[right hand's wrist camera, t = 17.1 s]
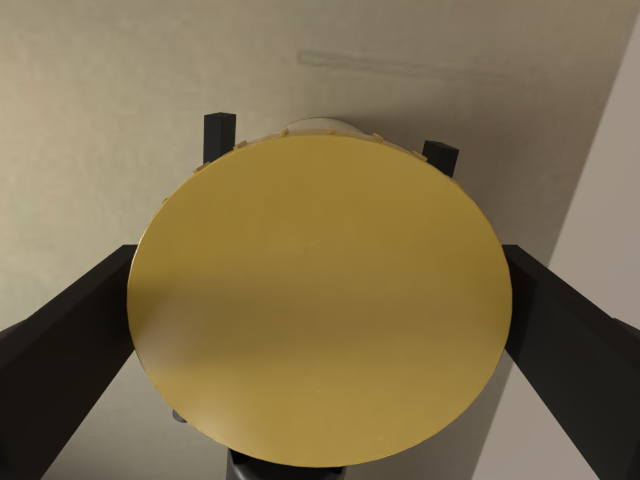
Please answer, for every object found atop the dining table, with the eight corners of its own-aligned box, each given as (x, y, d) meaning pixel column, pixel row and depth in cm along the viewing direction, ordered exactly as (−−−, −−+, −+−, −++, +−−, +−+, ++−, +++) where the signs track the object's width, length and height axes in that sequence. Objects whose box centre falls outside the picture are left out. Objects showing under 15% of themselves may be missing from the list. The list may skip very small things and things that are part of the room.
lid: (532, 353, 13) (563, 390, 11) (265, 463, 14) (259, 509, 13) (402, 47, 9) (419, 37, 8) (77, 238, 11) (38, 262, 9)
